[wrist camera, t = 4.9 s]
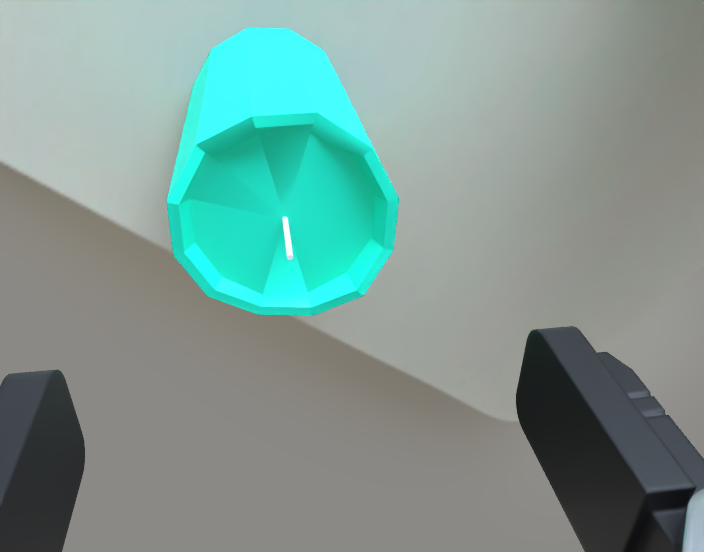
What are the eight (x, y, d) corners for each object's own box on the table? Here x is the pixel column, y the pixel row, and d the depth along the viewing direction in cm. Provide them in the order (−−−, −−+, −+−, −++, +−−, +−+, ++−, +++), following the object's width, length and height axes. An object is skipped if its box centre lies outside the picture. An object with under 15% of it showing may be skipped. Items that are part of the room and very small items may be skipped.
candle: (374, 106, 25) (461, 252, 15) (271, 202, 27) (290, 391, 17) (267, -11, 23) (290, 75, 12) (159, 104, 24) (102, 263, 14)
